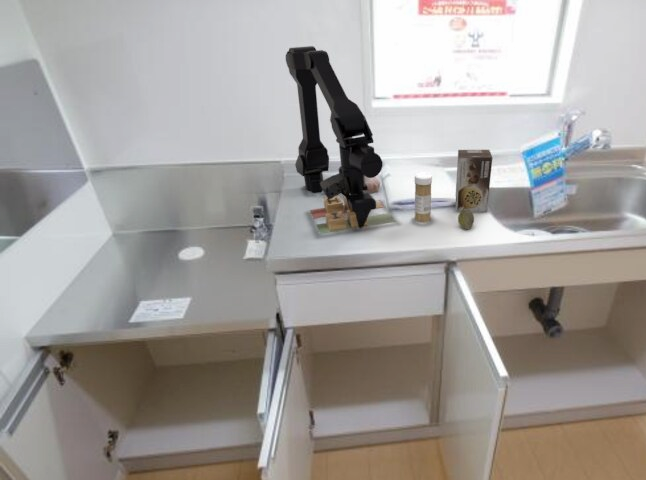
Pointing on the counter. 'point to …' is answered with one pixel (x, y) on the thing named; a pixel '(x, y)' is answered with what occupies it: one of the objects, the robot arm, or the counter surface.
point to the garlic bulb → (372, 184)
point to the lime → (466, 219)
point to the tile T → (353, 219)
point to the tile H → (333, 205)
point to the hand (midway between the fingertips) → (357, 221)
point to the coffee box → (473, 180)
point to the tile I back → (346, 203)
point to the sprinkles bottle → (423, 196)
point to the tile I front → (336, 221)
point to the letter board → (370, 220)
